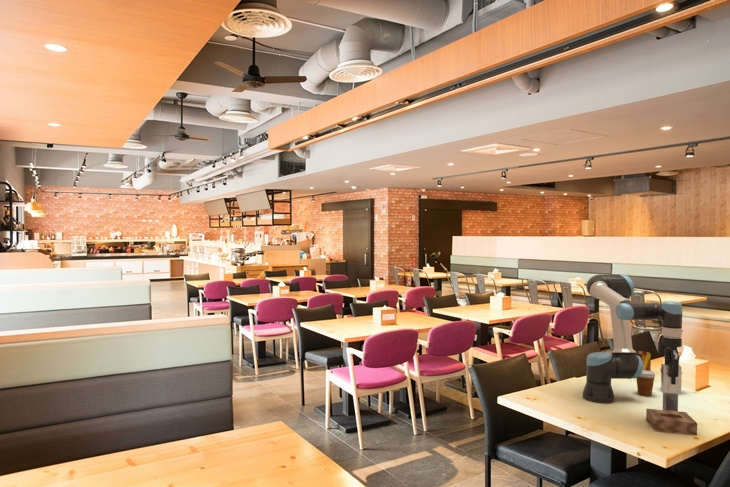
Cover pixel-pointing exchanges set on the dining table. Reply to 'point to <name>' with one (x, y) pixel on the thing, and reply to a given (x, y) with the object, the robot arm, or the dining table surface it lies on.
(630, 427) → the dining table surface
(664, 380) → the pale grey rectangular block
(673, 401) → the square steel bar
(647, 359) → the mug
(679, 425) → the socket block
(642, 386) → the disposable coffee cup
